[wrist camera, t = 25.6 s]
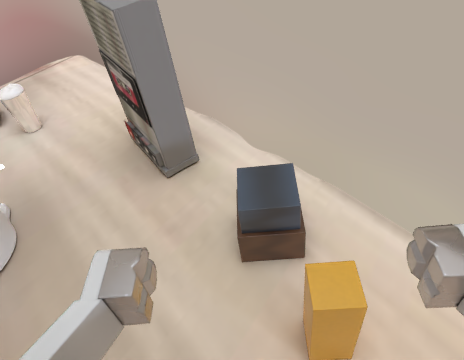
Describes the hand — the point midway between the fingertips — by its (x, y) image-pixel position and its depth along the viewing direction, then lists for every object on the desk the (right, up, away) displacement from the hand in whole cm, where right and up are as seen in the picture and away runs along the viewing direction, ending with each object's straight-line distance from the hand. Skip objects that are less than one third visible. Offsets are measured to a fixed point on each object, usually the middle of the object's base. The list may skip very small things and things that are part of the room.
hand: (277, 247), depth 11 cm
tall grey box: (-13, +7, +49) cm, 52 cm away
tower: (+4, -5, +34) cm, 35 cm away
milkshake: (-41, +12, +59) cm, 73 cm away
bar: (+8, -14, +25) cm, 29 cm away
